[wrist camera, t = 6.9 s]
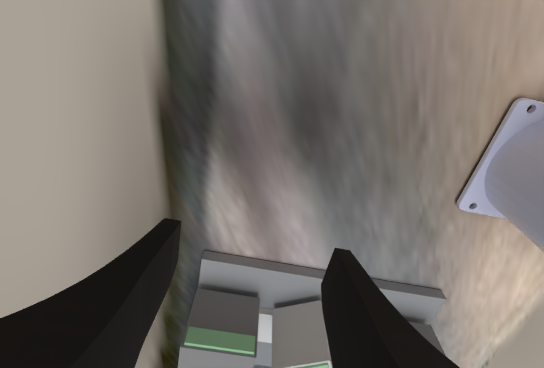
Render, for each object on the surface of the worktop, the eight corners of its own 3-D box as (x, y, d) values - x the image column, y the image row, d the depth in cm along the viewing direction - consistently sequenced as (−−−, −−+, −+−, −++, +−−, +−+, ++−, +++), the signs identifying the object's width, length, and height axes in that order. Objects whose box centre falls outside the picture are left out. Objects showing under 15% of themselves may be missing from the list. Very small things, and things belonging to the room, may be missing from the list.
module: (320, 300, 26) (330, 362, 21) (336, 353, 29) (347, 417, 24) (272, 309, 26) (271, 371, 22) (293, 360, 29) (296, 424, 25)
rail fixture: (441, 290, 27) (485, 366, 21) (387, 373, 33) (411, 451, 27) (204, 250, 25) (183, 321, 20) (191, 345, 31) (171, 422, 25)
